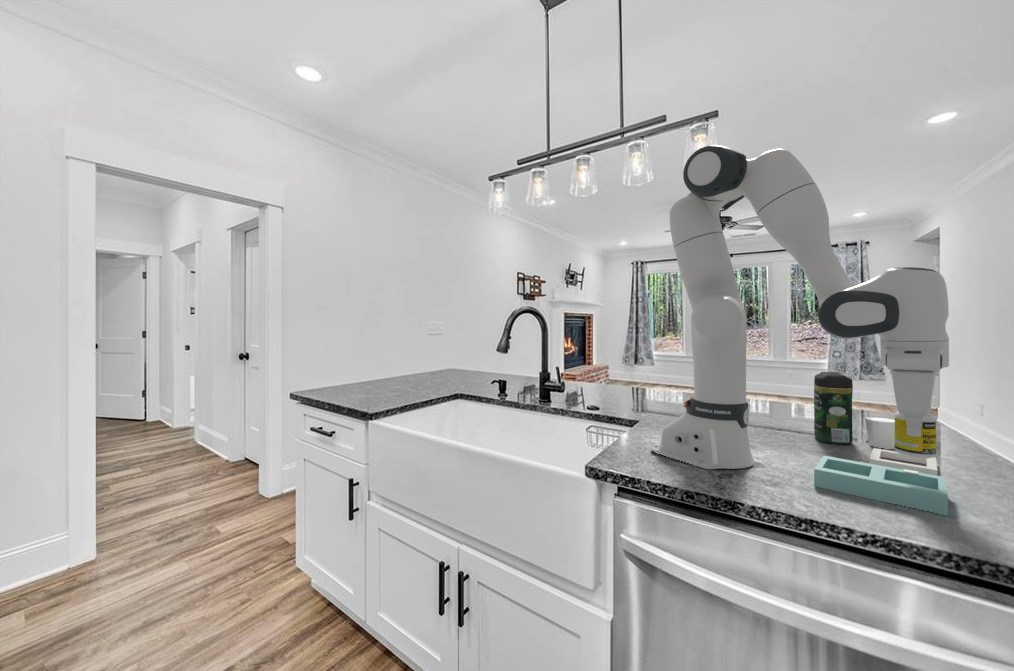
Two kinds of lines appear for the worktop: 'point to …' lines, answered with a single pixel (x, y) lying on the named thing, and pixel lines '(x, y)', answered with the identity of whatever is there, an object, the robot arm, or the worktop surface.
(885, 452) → the white shallow tray
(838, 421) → the coffee jar
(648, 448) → the worktop surface
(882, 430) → the white round container
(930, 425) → the supplement bottle
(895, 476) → the block
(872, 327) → the robot arm
